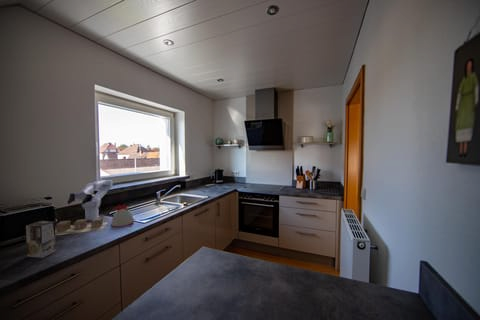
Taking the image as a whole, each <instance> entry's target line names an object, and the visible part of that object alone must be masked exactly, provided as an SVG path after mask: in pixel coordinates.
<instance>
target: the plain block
mask: <svg viewBox="0 0 480 320" xmlns="http://www.w3.org/2000/svg"><path fill="white" fill-rule="evenodd" d="M70 225H71V220H63V221H61V220H60V221H59V222H58V223H55V230H56V232H61V231H67V230H68V229H70Z"/></svg>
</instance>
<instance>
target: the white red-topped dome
mask: <svg viewBox="0 0 480 320" xmlns="http://www.w3.org/2000/svg"><path fill="white" fill-rule="evenodd" d="M115 209H116V212H115V213H114V215H112V218H111V219H112V220H111V222H110V226H111V227H113V228H121V227H126V226H128V227H131V226H132V225H134V224H135V223H134V222H135V221H134V217H133V214H132V212H131V211H130V210H129V209H130V208H129V206H127V205H125V204H123V205H122V204H121V205H120V204H118V206H115Z"/></svg>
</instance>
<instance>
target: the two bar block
mask: <svg viewBox="0 0 480 320" xmlns="http://www.w3.org/2000/svg"><path fill="white" fill-rule="evenodd" d="M103 219H104V218H103V217H97V218H94V219H93V220H90V223H91V228H98V227H101V226H102V225H103V222H104V221H103Z"/></svg>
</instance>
